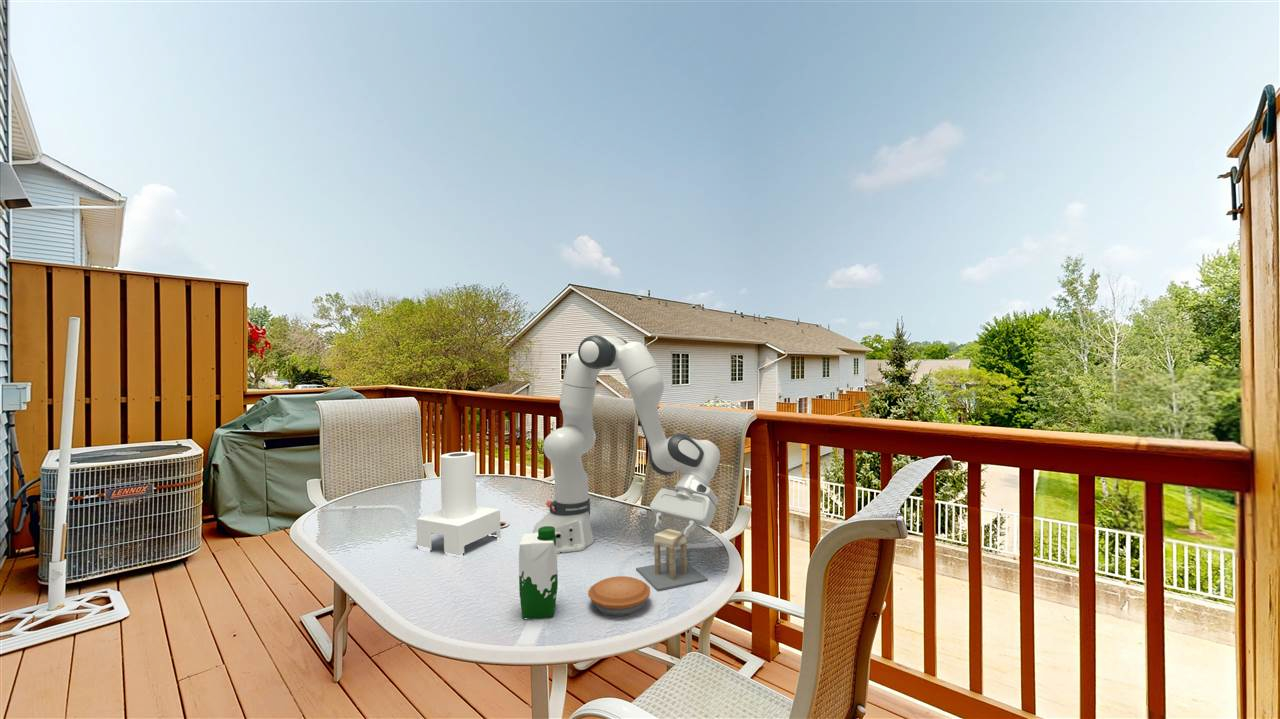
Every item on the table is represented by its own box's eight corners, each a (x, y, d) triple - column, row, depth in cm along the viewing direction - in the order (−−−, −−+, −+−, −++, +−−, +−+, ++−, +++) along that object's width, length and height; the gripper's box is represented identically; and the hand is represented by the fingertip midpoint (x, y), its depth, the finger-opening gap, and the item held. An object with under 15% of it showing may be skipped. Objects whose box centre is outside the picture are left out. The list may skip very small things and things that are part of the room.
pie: (600, 626, 117) (599, 604, 117) (580, 598, 131) (580, 578, 131) (661, 612, 123) (660, 591, 123) (636, 586, 137) (636, 568, 137)
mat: (657, 591, 134) (657, 589, 134) (636, 570, 148) (636, 568, 148) (707, 580, 140) (707, 578, 140) (682, 561, 154) (682, 559, 154)
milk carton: (556, 619, 121) (554, 534, 120) (517, 621, 120) (515, 536, 120) (559, 601, 129) (557, 522, 129) (523, 604, 128) (521, 524, 128)
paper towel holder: (460, 531, 185) (458, 448, 185) (500, 538, 177) (498, 451, 177) (417, 549, 168) (415, 457, 168) (459, 558, 160) (457, 461, 160)
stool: (673, 580, 139) (672, 539, 139) (654, 573, 143) (654, 534, 143) (686, 572, 144) (686, 533, 144) (669, 566, 148) (668, 528, 148)
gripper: (658, 479, 156) (637, 519, 149) (714, 489, 143) (694, 534, 136) (667, 490, 160) (647, 530, 152) (723, 502, 146) (704, 546, 139)
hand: (670, 532), depth 144 cm, fingers open, 8 cm apart
